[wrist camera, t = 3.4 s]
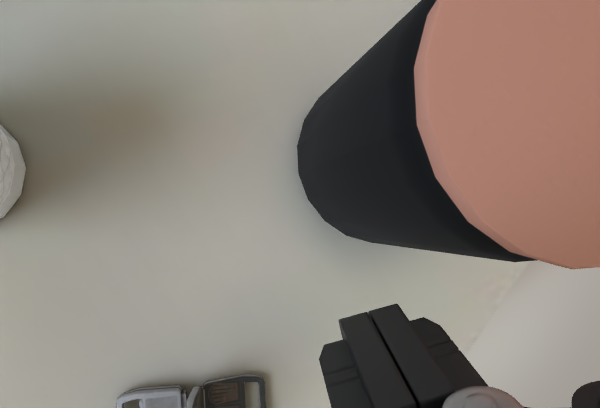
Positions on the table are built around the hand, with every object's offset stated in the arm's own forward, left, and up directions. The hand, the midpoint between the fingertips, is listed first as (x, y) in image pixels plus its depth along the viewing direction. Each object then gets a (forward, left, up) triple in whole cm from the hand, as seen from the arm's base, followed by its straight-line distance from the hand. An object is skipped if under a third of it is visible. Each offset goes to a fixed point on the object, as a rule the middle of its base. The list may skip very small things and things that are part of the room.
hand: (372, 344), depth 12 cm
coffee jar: (+8, +6, -19) cm, 21 cm away
